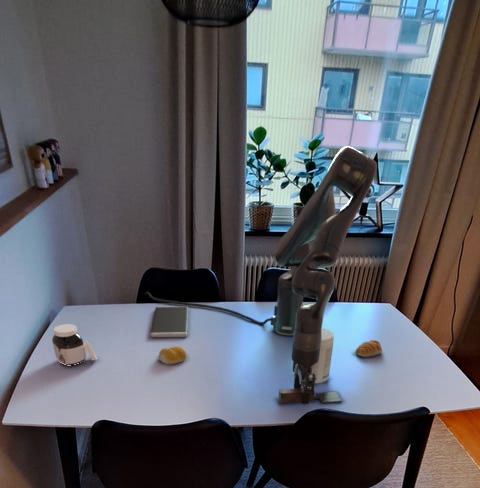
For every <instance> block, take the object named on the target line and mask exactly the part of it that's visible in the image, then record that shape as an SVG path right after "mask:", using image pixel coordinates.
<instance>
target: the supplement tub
mask: <svg viewBox="0 0 480 488" xmlns="http://www.w3.org/2000/svg"><path fill="white" fill-rule="evenodd" d="M333 348H334V333H333V332H332V331H331V330H329V329H326V328H323V327H322V339H321V347H320V355H319V361H318V362H317V363H316V364H314V365H313V366H312V369H313V374H315V376H316V377H315V384H321V383H324V382H326V381H327V380H328V379H329V378H330V370H331V364H332V355H333ZM303 382H305V380H303Z"/></svg>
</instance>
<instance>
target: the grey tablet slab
mask: <svg viewBox="0 0 480 488" xmlns="http://www.w3.org/2000/svg"><path fill="white" fill-rule="evenodd" d="M153 313H154V314H153V318H152V324H151V330H150V337H151V338H185V337H188V333H189V307H188V306H155V309H154V312H153Z"/></svg>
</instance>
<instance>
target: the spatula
mask: <svg viewBox="0 0 480 488" xmlns="http://www.w3.org/2000/svg"><path fill="white" fill-rule="evenodd" d="M307 389H309V387H308V388H307ZM315 394H316V395H315ZM301 396H302V387H301V388H294V387H293V388H282V389H281V388H280V389H278V399H277V400H278V402H279V404H282V405H283V404H295V403H301ZM315 401H320V403H321V404H333V403H334V404H335V403H342V402H343V401H342V399H341V397H340V395H339V394H338V392H337V391H326V392H317V393H316V391H315V390H314V394H310V399H309V403H310V402H311V403H313V402H315Z"/></svg>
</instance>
